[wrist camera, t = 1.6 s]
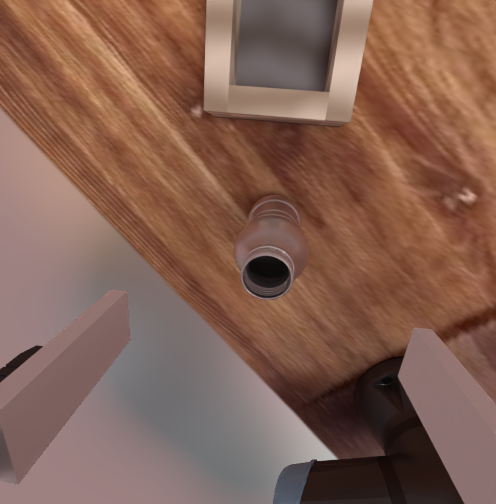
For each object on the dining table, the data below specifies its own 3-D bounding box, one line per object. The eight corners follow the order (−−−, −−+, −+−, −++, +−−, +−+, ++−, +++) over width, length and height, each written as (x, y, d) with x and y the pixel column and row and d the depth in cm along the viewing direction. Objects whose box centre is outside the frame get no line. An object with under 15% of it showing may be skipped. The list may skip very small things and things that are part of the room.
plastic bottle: (250, 191, 38) (216, 232, 19) (302, 191, 37) (319, 234, 18) (250, 238, 40) (220, 315, 21) (299, 239, 39) (312, 320, 21)
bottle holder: (338, 126, 34) (350, 122, 29) (215, 116, 35) (203, 110, 30) (366, -33, 29) (387, -76, 24) (221, -39, 30) (208, -82, 25)
